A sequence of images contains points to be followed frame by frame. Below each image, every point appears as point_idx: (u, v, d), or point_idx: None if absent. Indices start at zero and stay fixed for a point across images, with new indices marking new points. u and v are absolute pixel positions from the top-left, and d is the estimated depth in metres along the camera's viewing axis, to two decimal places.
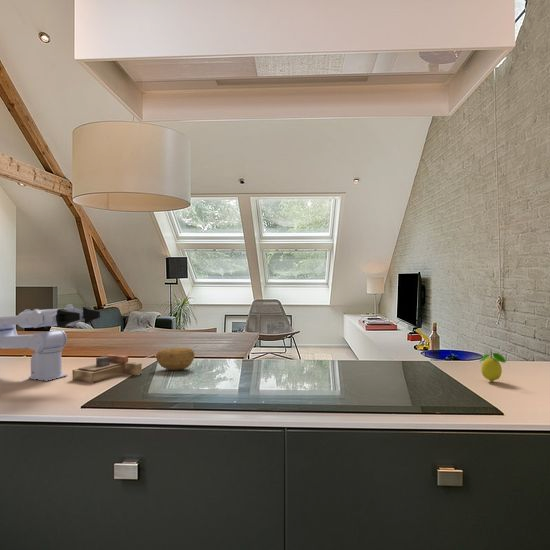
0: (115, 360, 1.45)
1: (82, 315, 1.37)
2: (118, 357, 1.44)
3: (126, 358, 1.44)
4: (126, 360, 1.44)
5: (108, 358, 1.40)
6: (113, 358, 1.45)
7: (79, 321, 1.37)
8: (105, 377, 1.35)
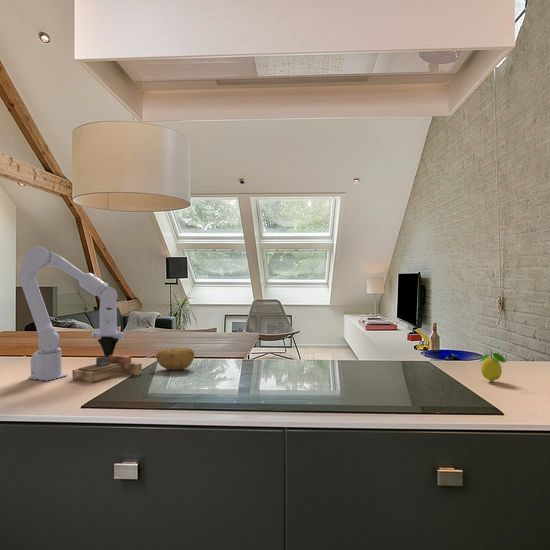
0: (118, 360, 1.44)
1: (101, 337, 1.49)
2: (121, 357, 1.43)
3: (129, 358, 1.43)
4: (129, 360, 1.43)
5: (108, 358, 1.40)
6: (116, 358, 1.44)
7: (97, 334, 1.47)
8: (105, 377, 1.35)
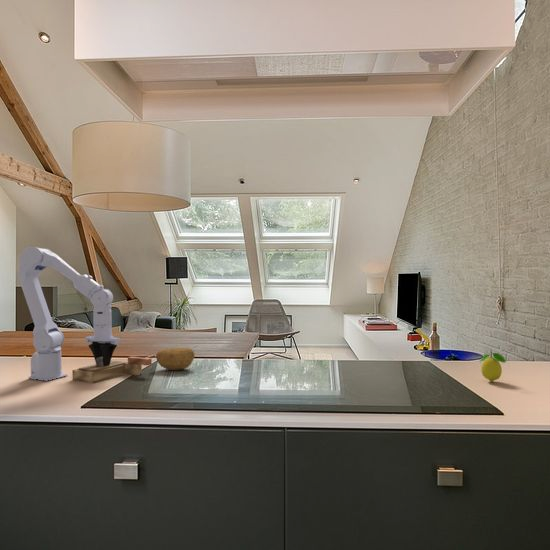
0: (138, 362, 1.40)
1: None
2: (141, 359, 1.39)
3: (149, 360, 1.39)
4: (149, 362, 1.39)
5: None
6: (136, 360, 1.40)
7: (91, 340, 1.40)
8: (105, 377, 1.35)
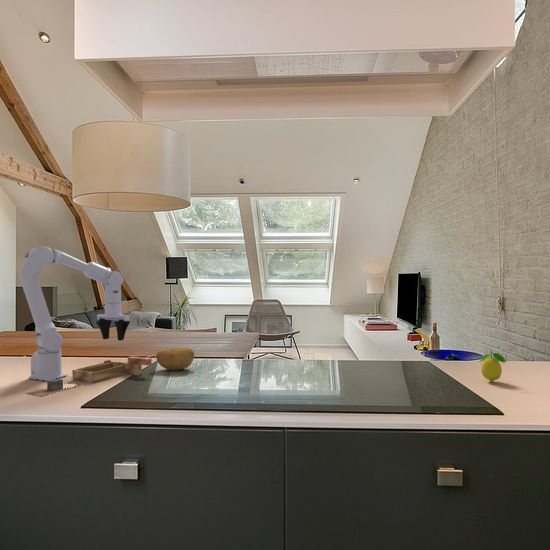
0: (138, 362, 1.40)
1: (106, 319, 1.55)
2: (141, 359, 1.39)
3: (149, 360, 1.39)
4: (149, 362, 1.39)
5: (61, 381, 1.24)
6: (136, 360, 1.40)
7: (102, 317, 1.53)
8: (105, 377, 1.35)
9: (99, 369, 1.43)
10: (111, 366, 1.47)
